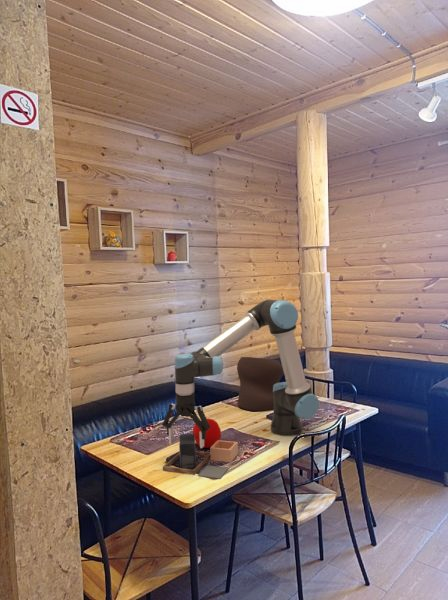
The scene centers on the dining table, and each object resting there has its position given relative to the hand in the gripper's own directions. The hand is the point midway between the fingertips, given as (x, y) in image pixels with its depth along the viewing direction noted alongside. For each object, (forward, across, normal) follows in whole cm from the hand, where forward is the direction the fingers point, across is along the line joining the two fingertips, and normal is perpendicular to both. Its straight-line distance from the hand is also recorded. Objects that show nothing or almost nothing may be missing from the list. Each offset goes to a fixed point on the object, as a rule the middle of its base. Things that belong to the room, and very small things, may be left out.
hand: (186, 445), depth 178 cm
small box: (+8, 0, 0) cm, 8 cm away
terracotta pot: (+7, -12, -10) cm, 18 cm away
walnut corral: (+8, 0, 0) cm, 8 cm away
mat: (+8, -13, +5) cm, 16 cm away
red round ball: (+8, 0, -20) cm, 22 cm away
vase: (+7, -7, -84) cm, 85 cm away
